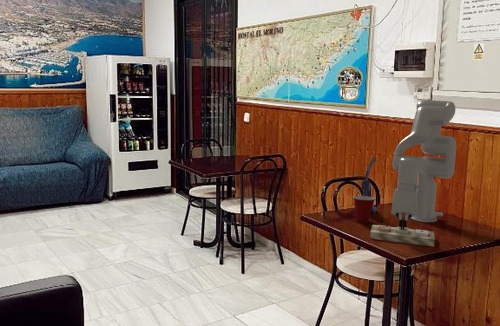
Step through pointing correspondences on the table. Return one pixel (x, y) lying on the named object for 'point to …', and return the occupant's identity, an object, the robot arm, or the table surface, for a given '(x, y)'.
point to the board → (402, 236)
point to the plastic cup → (363, 207)
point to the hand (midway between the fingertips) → (402, 228)
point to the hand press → (368, 184)
